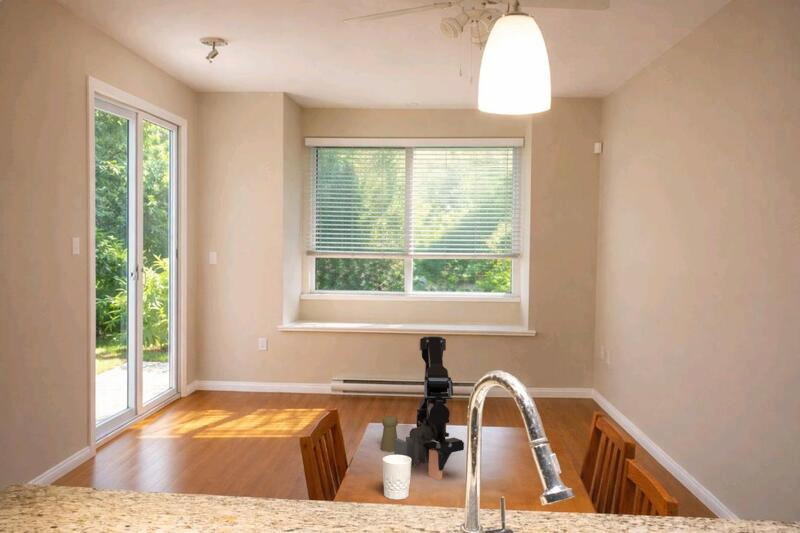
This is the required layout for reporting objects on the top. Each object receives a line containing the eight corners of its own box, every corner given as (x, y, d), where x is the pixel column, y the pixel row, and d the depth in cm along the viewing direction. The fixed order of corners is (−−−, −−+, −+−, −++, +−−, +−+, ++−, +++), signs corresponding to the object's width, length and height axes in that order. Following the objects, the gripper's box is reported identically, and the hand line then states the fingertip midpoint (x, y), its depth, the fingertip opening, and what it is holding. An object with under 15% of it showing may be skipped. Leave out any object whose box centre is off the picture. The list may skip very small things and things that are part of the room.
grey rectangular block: (409, 461, 214) (409, 436, 214) (418, 465, 211) (418, 439, 211) (405, 462, 213) (405, 437, 213) (413, 466, 210) (414, 440, 210)
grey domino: (420, 458, 217) (421, 434, 217) (429, 462, 214) (429, 437, 213) (416, 459, 216) (417, 434, 216) (425, 463, 213) (425, 438, 212)
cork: (399, 447, 229) (400, 414, 229) (397, 452, 223) (398, 419, 223) (381, 446, 230) (382, 414, 230) (379, 451, 224) (379, 418, 224)
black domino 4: (398, 463, 212) (398, 438, 211) (406, 467, 208) (407, 441, 208) (393, 464, 211) (394, 439, 210) (402, 468, 207) (402, 442, 207)
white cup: (400, 502, 180) (401, 465, 179) (376, 496, 184) (377, 460, 183) (416, 494, 186) (416, 458, 186) (392, 488, 190) (392, 452, 190)
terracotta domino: (432, 474, 202) (433, 448, 202) (442, 479, 198) (442, 452, 198) (428, 475, 201) (429, 449, 201) (438, 480, 198) (438, 453, 197)
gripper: (395, 412, 202) (394, 464, 202) (436, 426, 187) (434, 482, 187) (424, 407, 209) (423, 457, 209) (465, 421, 194) (464, 475, 194)
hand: (435, 468), depth 200 cm, fingers closed on terracotta domino, 4 cm apart
